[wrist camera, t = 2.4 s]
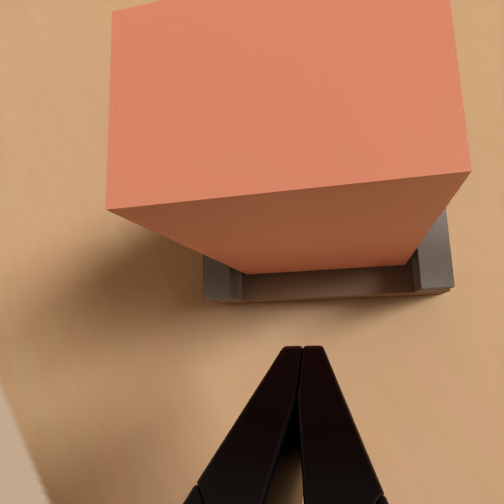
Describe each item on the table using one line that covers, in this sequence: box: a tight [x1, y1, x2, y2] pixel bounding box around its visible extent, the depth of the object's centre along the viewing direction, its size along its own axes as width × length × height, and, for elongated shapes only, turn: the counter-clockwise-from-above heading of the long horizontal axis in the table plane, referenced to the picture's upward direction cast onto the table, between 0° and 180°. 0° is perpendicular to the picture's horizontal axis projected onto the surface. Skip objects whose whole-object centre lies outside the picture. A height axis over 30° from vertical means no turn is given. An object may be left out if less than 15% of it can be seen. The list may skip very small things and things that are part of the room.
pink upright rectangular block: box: [106, 0, 471, 275], centre depth 12 cm, size 4×6×10 cm, turn 91°
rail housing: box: [203, 208, 455, 304], centre depth 18 cm, size 14×9×4 cm, turn 1°
